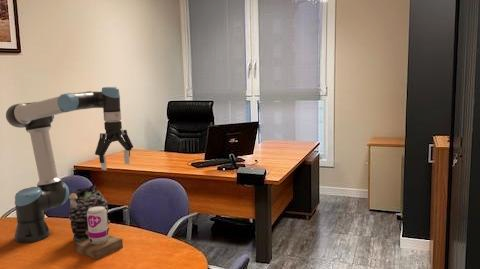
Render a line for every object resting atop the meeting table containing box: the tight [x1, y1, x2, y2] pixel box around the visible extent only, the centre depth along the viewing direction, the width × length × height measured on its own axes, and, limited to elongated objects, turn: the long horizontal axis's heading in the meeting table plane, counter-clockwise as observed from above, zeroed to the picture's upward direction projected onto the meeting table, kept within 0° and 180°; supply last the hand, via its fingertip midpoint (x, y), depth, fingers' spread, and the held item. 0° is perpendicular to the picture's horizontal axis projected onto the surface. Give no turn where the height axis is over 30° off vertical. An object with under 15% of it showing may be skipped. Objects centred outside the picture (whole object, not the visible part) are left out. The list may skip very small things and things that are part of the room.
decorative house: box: [68, 184, 111, 244], centre depth 201 cm, size 21×15×25 cm
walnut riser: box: [75, 234, 124, 260], centre depth 187 cm, size 14×14×4 cm
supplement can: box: [87, 206, 109, 244], centre depth 186 cm, size 8×8×15 cm
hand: (116, 166), depth 195 cm, fingers open, 13 cm apart
